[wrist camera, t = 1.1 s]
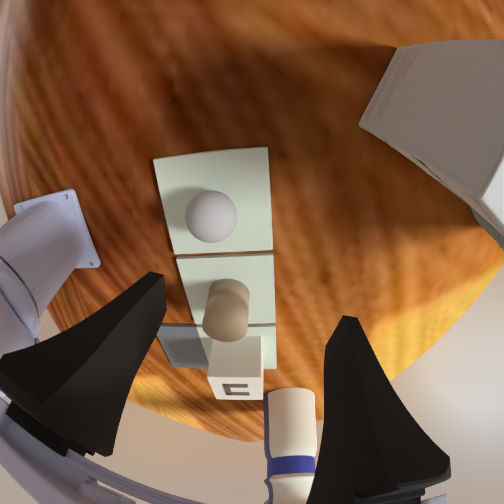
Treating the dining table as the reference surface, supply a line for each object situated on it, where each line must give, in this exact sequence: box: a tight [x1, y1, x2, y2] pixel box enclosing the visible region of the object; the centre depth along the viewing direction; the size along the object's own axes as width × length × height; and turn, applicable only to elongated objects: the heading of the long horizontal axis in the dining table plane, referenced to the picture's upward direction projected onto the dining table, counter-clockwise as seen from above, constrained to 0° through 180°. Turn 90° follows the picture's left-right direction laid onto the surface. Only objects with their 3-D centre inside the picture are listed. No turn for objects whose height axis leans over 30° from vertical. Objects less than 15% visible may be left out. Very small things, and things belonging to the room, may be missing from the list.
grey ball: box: [185, 190, 237, 243], centre depth 18 cm, size 4×4×4 cm
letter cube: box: [207, 336, 263, 400], centre depth 27 cm, size 5×5×5 cm
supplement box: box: [358, 39, 504, 236], centre depth 10 cm, size 7×7×13 cm
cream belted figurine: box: [263, 387, 317, 504], centre depth 26 cm, size 8×9×25 cm
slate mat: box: [157, 324, 209, 369], centre depth 30 cm, size 5×8×1 cm, turn 4°
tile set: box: [153, 147, 276, 369], centre depth 25 cm, size 8×25×1 cm, turn 4°
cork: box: [202, 279, 250, 342], centre depth 23 cm, size 4×4×4 cm
